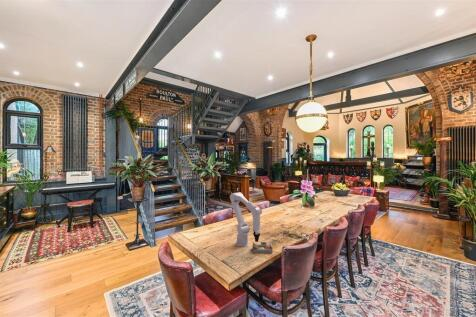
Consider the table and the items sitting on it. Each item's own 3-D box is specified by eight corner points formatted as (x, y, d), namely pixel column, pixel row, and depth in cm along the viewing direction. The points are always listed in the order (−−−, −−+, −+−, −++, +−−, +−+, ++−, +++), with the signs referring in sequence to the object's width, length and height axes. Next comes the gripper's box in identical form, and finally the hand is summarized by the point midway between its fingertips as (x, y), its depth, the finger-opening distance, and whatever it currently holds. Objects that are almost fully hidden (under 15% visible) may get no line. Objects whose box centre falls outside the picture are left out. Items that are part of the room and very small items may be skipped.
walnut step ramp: (253, 252, 159) (253, 245, 159) (252, 247, 167) (252, 241, 167) (260, 252, 159) (260, 245, 159) (259, 247, 167) (259, 241, 167)
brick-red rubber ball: (271, 247, 159) (266, 247, 159) (270, 252, 161) (265, 251, 160) (270, 244, 163) (265, 243, 163) (269, 248, 164) (264, 247, 164)
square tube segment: (261, 246, 168) (261, 244, 168) (260, 244, 173) (260, 242, 173) (266, 246, 168) (266, 244, 168) (266, 244, 173) (266, 242, 173)
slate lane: (253, 252, 159) (253, 246, 159) (253, 247, 167) (253, 242, 167) (272, 252, 158) (272, 247, 158) (271, 247, 166) (271, 242, 166)
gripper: (262, 226, 155) (262, 243, 155) (260, 219, 169) (260, 236, 170) (253, 226, 155) (252, 243, 155) (252, 219, 169) (252, 235, 170)
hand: (256, 239), depth 163 cm, fingers open, 7 cm apart
